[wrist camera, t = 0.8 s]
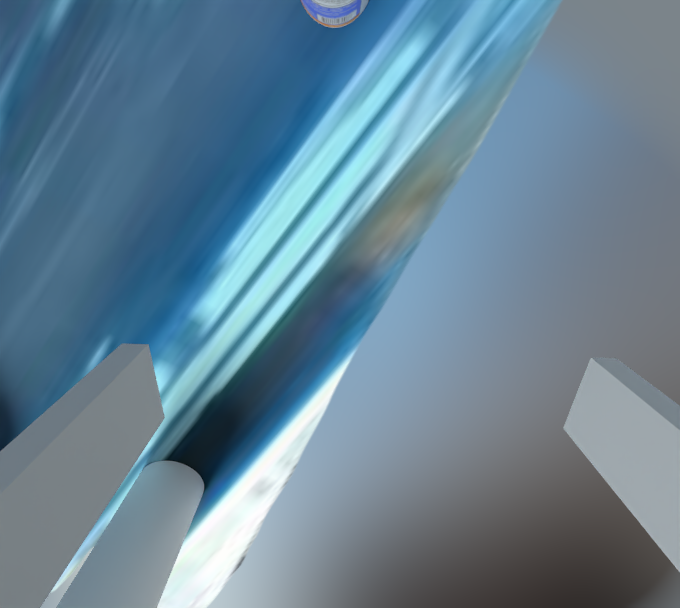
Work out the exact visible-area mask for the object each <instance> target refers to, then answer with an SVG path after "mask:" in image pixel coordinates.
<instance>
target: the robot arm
mask: <svg viewBox="0 0 680 608" xmlns="http://www.w3.org/2000/svg"><path fill="white" fill-rule="evenodd" d="M164 418H165V417H164V413H163V408H162V404H161V399H160V395H159V390H158V385H157V381H156V376H155V372H154V367H153V363H152V358H151V354H150V349H149V345H148V344H121V345H120V346H119V347H118V348H117V349H115V350H114V351H113V352H112V353H111V354H110V355H109V356H108V357H106V358H105V359H104V360H103V361H102V362H101V363H100V364H99V365H97V366H96V367H95V368H94V369H93V370H92V371H91V372H89V373H88V374H87V375H86V376H85V377H84V378H83V379H82V380H80V381H79V382H78V383H77V384H76V385H75V386H74V387H72V388H71V389H70V390H69V391H68V392H67V393H66V394H65V395H63V396H62V397H61V398H60V399H59V400H58V401H57V402H56V403H54V404H53V405H52V406H51V407H50V408H49V409H48V410H46V411H45V412H44V413H43V414H42V415H41V416H40V417H39V418H37V419H36V420H35V421H34V422H33V423H32V424H31V425H30V426H28V427H27V428H26V429H25V430H24V431H23V432H22V433H20V434H19V435H18V436H17V437H16V438H15V439H14V440H13V441H11V442H10V443H9V444H8V445H7V446H6V447H5V448H4V449H2V450H1V451H0V608H40V607H41V605H42V604H43V602H44V601H45V599H46V598H47V596H48V595H49V593H50V592H51V590H52V589H53V587H54V586H55V584H56V583H57V581H58V579H59V578H60V576H61V575H62V573H63V572H64V570H65V569H66V567H67V566H68V564H69V563H70V561H71V560H72V558H73V557H74V555H75V554H76V552H77V551H78V549H79V547H80V546H81V544H82V543H83V541H84V540H85V538H86V537H87V535H88V534H89V532H90V531H91V529H92V528H93V526H94V525H95V523H96V522H97V520H98V519H99V517H100V515H101V514H102V512H103V511H104V509H105V508H106V506H107V505H108V503H109V502H110V500H111V499H112V497H113V496H114V494H115V493H116V491H117V490H118V488H119V487H120V485H121V483H122V482H123V480H124V479H125V477H126V476H127V474H128V473H129V471H130V470H131V468H132V467H133V465H134V464H135V462H136V461H137V459H138V458H139V456H140V455H141V453H142V451H143V450H144V448H145V447H146V445H147V444H148V442H149V441H150V439H151V438H152V436H153V435H154V433H155V432H156V430H157V429H158V427H159V426H160V424H161V423H162V421H163V419H164ZM563 429H564V430H565V431H566V432H567V433H568V435H569V436H570V437H571V438H572V440H573V441H574V442H575V443H576V445H577V446H578V447H579V448H580V450H581V451H582V452H583V453H584V454H585V456H586V457H587V458H588V459H589V461H590V462H591V463H592V464H593V466H594V467H595V468H596V469H597V470H598V472H599V473H600V474H601V475H602V477H603V478H604V479H605V480H606V482H607V483H608V484H609V485H610V487H611V488H612V489H613V490H614V492H615V493H616V494H617V495H618V497H619V498H620V499H621V500H622V501H623V503H624V504H625V505H626V506H627V508H628V509H629V510H630V511H631V513H632V514H633V515H634V516H635V517H636V519H637V520H638V521H639V522H640V524H641V525H642V526H643V527H644V528H645V530H646V531H647V532H648V533H649V535H650V536H651V537H652V538H653V540H654V541H655V542H656V543H657V545H658V546H659V547H660V548H661V550H662V551H663V552H664V553H665V555H666V556H667V557H668V558H669V560H670V561H671V562H672V563H673V564H674V566H675V567H676V568H677V569H678V571H679V572H680V406H679V405H678V404H677V403H675V402H674V401H672V400H671V399H670V398H669V397H667V396H666V395H665V394H663V393H662V392H661V391H659V390H658V389H656V388H655V387H654V386H652V385H651V384H650V383H648V382H647V381H646V380H644V379H643V378H642V377H640V376H639V375H638V374H636V373H635V372H634V371H632V370H631V369H630V368H628V367H627V366H626V365H624V364H623V363H622V362H620V361H619V360H618V359H616V358H591V359H590V362H589V364H588V367H587V369H586V372H585V374H584V377H583V379H582V382H581V385H580V387H579V390H578V392H577V395H576V397H575V400H574V402H573V405H572V407H571V410H570V413H569V415H568V418H567V420H566V423H565V425H564V428H563Z"/></svg>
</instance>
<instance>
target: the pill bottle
mask: <svg viewBox="0 0 680 608" xmlns="http://www.w3.org/2000/svg"><path fill="white" fill-rule="evenodd" d="M368 1H369V0H301V2H302V4H303V6H304V8H305V10H306V11H307V12H308V14H309V15H310V16H311V17H312V18H313V19H314V20H315V21H317V22H318V23H320V24H321V25H324V26H326V27H332V28H338V27H343V26H346V25H348V24H350V23H351V22H353V21H354V20H355V19H356V18H357V17H358V16H359V15H360V14H361V13H362V12H363V10H364V9H365V7H366V5H367V3H368Z"/></svg>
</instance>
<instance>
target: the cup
mask: <svg viewBox="0 0 680 608" xmlns="http://www.w3.org/2000/svg"><path fill="white" fill-rule="evenodd" d="M203 492H204V483H203V480H202V478H201V477H200V475H199V474H198V473H197V472H196V471H195V470H193V469H192V468H190V467H189V466H187V465H185V464H182V463H179V462H175V461H157V462H153V463H151V464H149V465H147V466H146V467H145V468H144V469H143V470H142V472H141V473H140V475H139V476H138V478H137V479H136V481H135V483H134V484H133V486H132V487H131V489H130V491H129V492H128V494H127V495H126V497H125V499H124V500H123V502H122V503H121V505H120V507H119V508H118V510H117V511H116V513H115V515H114V516H113V518H112V519H111V521H110V523H109V524H108V526H107V527H106V529H105V531H104V532H103V534H102V535H101V537H100V539H99V540H98V542H97V543H96V545H95V547H94V548H93V550H92V551H91V553H90V555H89V556H88V558H87V560H86V561H85V563H84V564H83V566H82V567H81V569H80V571H79V572H78V574H77V575H76V577H75V579H74V580H73V582H72V583H71V585H70V586H69V588H68V590H67V591H66V593H65V594H64V596H63V598H62V599H61V601H60V603H59V604H58V606H57V607H56V608H157V605H158V603H159V601H160V598H161V596H162V593H163V591H164V588H165V586H166V583H167V581H168V578H169V576H170V573H171V571H172V568H173V566H174V564H175V561H176V559H177V556H178V554H179V551H180V549H181V546H182V544H183V541H184V539H185V536H186V534H187V531H188V529H189V527H190V524H191V522H192V519H193V517H194V514H195V512H196V509H197V507H198V504H199V502H200V499H201V497H202V494H203Z"/></svg>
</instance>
